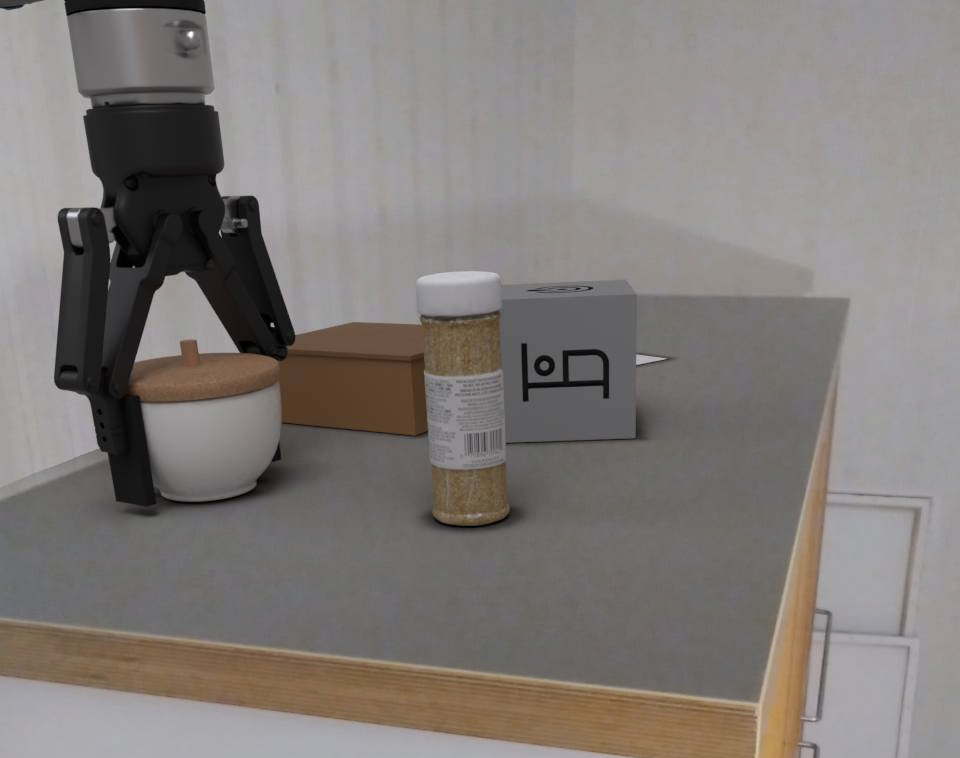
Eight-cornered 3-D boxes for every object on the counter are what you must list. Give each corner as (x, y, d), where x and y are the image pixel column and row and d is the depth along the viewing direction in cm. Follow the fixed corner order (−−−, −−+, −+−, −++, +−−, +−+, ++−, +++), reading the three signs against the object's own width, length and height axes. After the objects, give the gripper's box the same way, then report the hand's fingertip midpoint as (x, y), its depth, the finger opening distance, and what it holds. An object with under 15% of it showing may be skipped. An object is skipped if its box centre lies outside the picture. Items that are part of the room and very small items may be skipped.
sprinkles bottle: (499, 502, 67) (490, 267, 62) (518, 523, 63) (510, 274, 58) (425, 510, 66) (408, 273, 61) (439, 532, 62) (423, 280, 57)
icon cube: (497, 443, 81) (491, 300, 77) (500, 414, 90) (495, 285, 86) (635, 438, 81) (636, 293, 77) (625, 409, 90) (625, 279, 86)
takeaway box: (253, 420, 93) (244, 346, 90) (359, 388, 104) (353, 321, 101) (416, 436, 84) (410, 355, 82) (512, 400, 96) (509, 327, 93)
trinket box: (320, 470, 76) (306, 327, 72) (239, 518, 66) (218, 357, 63) (183, 462, 79) (162, 326, 75) (88, 507, 70) (59, 354, 66)
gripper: (21, 94, 53) (102, 538, 62) (329, 101, 71) (358, 444, 80) (-75, 104, 57) (14, 521, 65) (241, 108, 75) (278, 435, 83)
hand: (203, 479), depth 73 cm, fingers closed on trinket box, 11 cm apart
